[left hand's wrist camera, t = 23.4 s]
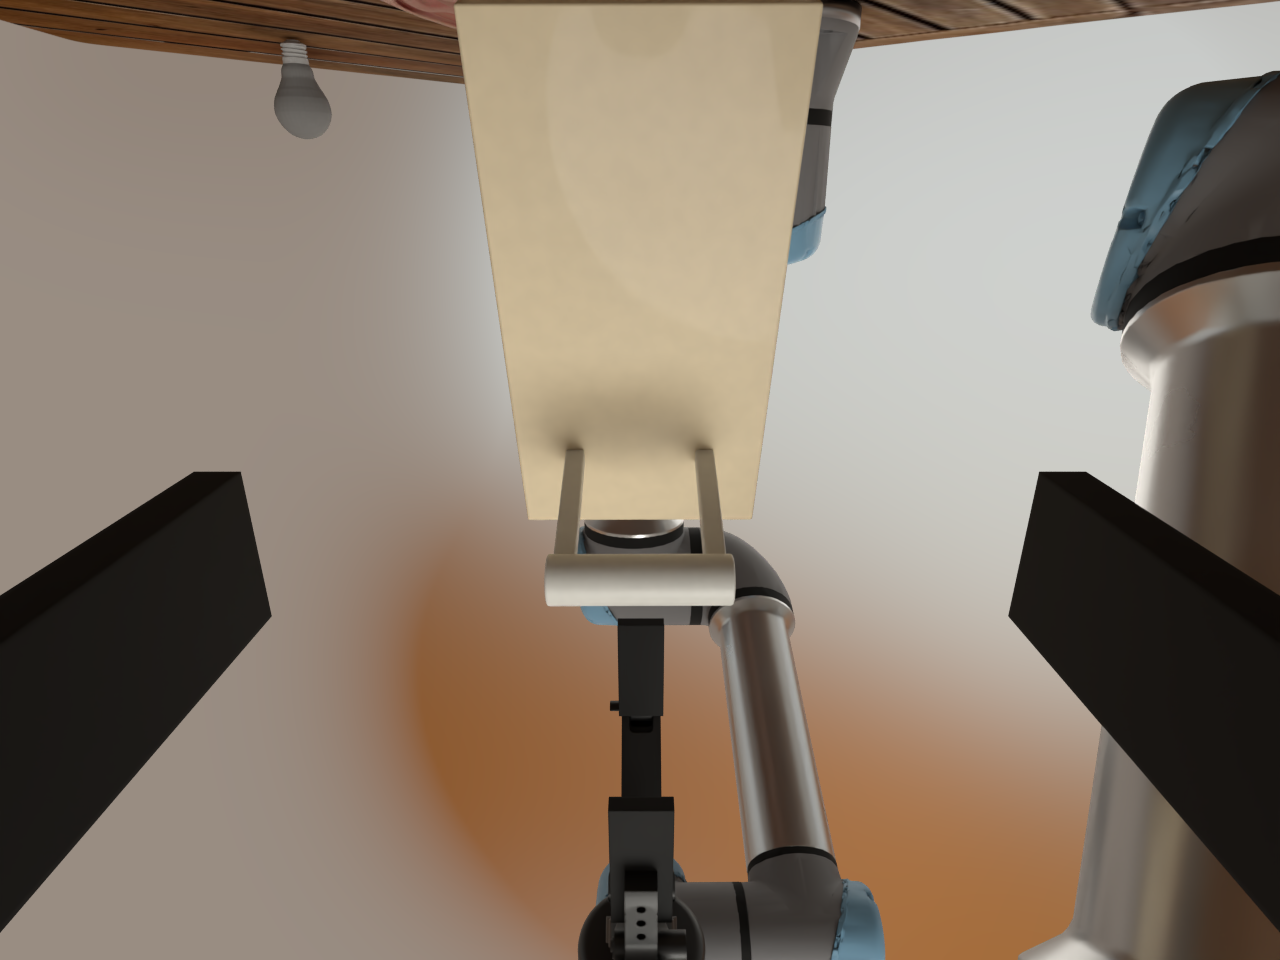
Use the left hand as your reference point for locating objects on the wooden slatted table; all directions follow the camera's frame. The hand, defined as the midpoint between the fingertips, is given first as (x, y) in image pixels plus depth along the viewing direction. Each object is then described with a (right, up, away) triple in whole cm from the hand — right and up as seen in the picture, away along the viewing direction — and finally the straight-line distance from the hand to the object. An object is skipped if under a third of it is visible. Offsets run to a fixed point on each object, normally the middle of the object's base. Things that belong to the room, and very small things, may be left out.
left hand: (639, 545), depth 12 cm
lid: (0, +7, +13) cm, 14 cm away
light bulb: (-39, +50, +69) cm, 94 cm away
